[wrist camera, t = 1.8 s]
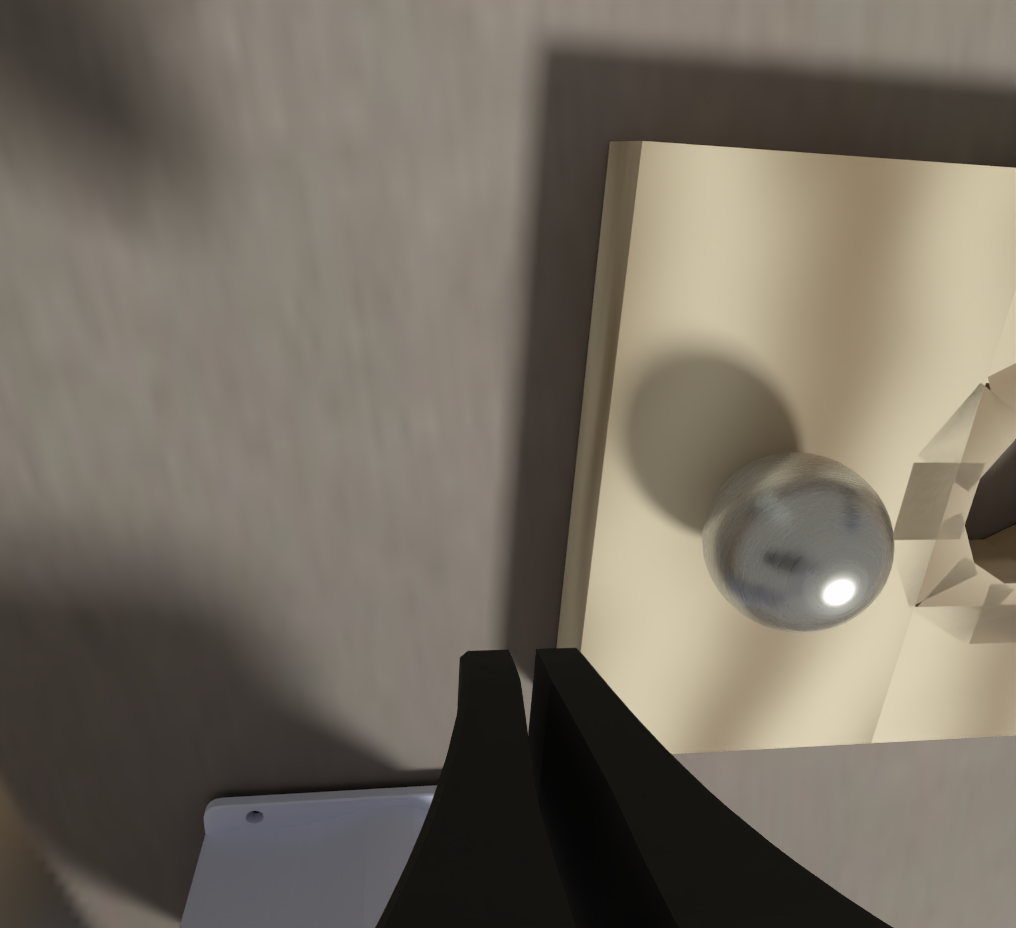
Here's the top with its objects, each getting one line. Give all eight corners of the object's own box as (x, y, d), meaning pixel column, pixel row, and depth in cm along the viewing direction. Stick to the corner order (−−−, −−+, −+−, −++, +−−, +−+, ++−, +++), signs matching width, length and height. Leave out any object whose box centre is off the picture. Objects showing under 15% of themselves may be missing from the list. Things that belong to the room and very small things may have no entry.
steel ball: (666, 573, 19) (730, 674, 15) (691, 425, 18) (767, 499, 14) (812, 571, 20) (906, 668, 16) (848, 427, 18) (962, 499, 14)
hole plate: (551, 699, 23) (567, 759, 21) (609, 141, 17) (642, 140, 15) (1059, 678, 26) (1122, 729, 24) (1267, 188, 20) (1380, 194, 18)
